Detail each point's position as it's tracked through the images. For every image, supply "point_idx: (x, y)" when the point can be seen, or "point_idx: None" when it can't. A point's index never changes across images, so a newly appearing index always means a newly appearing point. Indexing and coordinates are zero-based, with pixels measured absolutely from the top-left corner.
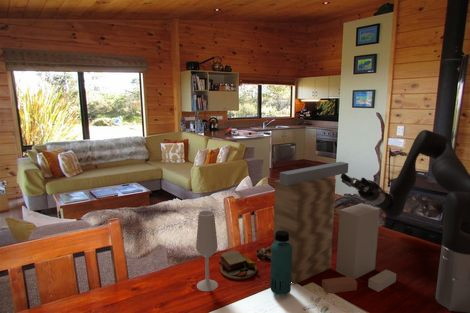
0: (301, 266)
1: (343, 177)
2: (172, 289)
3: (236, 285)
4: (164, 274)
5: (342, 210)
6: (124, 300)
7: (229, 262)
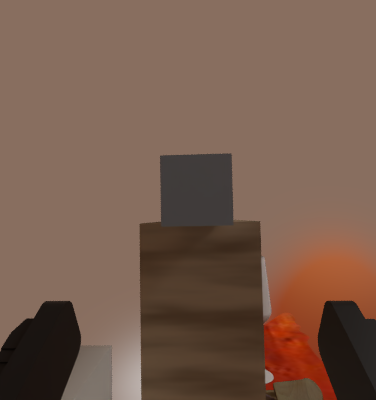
0: None
1: (328, 351)
2: (267, 354)
3: None
4: (312, 357)
5: (100, 346)
6: (268, 333)
7: (280, 383)
